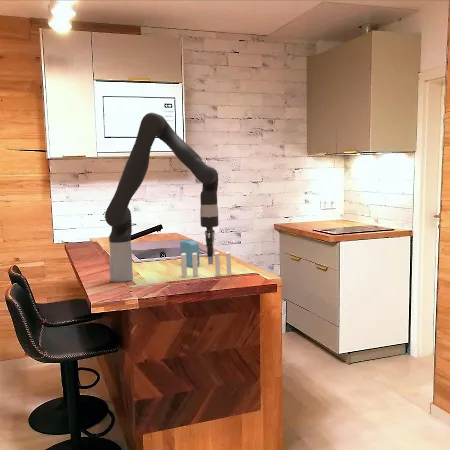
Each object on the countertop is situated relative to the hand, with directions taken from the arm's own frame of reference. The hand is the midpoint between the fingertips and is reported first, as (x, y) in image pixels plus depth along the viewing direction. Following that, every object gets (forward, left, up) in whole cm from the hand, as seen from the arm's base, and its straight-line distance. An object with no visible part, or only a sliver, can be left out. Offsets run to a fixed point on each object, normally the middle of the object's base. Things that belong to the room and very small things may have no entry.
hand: (210, 255), depth 213 cm
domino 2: (-8, +11, -11) cm, 17 cm away
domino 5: (+7, +11, -11) cm, 17 cm away
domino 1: (-13, +11, -11) cm, 20 cm away
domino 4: (+2, +11, -11) cm, 16 cm away
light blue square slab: (-13, +37, -11) cm, 41 cm away
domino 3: (0, 0, -3) cm, 3 cm away
